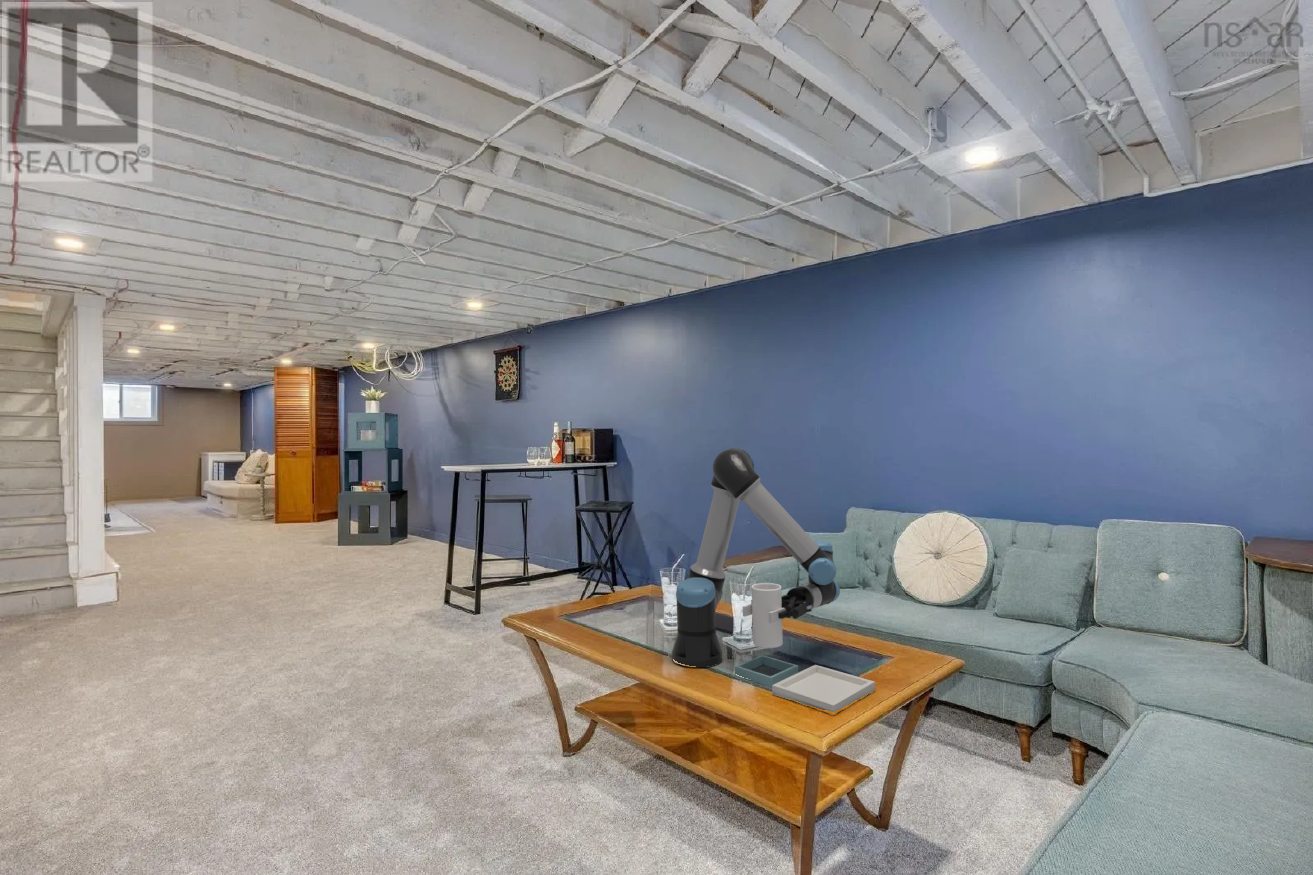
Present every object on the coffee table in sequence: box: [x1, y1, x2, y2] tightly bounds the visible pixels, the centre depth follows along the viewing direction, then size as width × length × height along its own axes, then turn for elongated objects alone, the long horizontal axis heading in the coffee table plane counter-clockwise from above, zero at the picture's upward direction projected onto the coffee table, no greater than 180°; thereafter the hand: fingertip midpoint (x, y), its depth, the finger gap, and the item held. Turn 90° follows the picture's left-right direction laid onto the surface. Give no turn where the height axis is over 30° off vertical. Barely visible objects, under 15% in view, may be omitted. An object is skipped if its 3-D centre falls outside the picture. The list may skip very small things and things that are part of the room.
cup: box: [751, 582, 784, 649], centre depth 179 cm, size 8×8×16 cm
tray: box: [771, 664, 876, 712], centre depth 166 cm, size 20×18×2 cm
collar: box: [734, 654, 799, 688], centre depth 179 cm, size 13×13×2 cm
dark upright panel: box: [715, 612, 734, 635], centre depth 228 cm, size 13×2×21 cm
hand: (756, 614), depth 176 cm, fingers closed on cup, 8 cm apart
